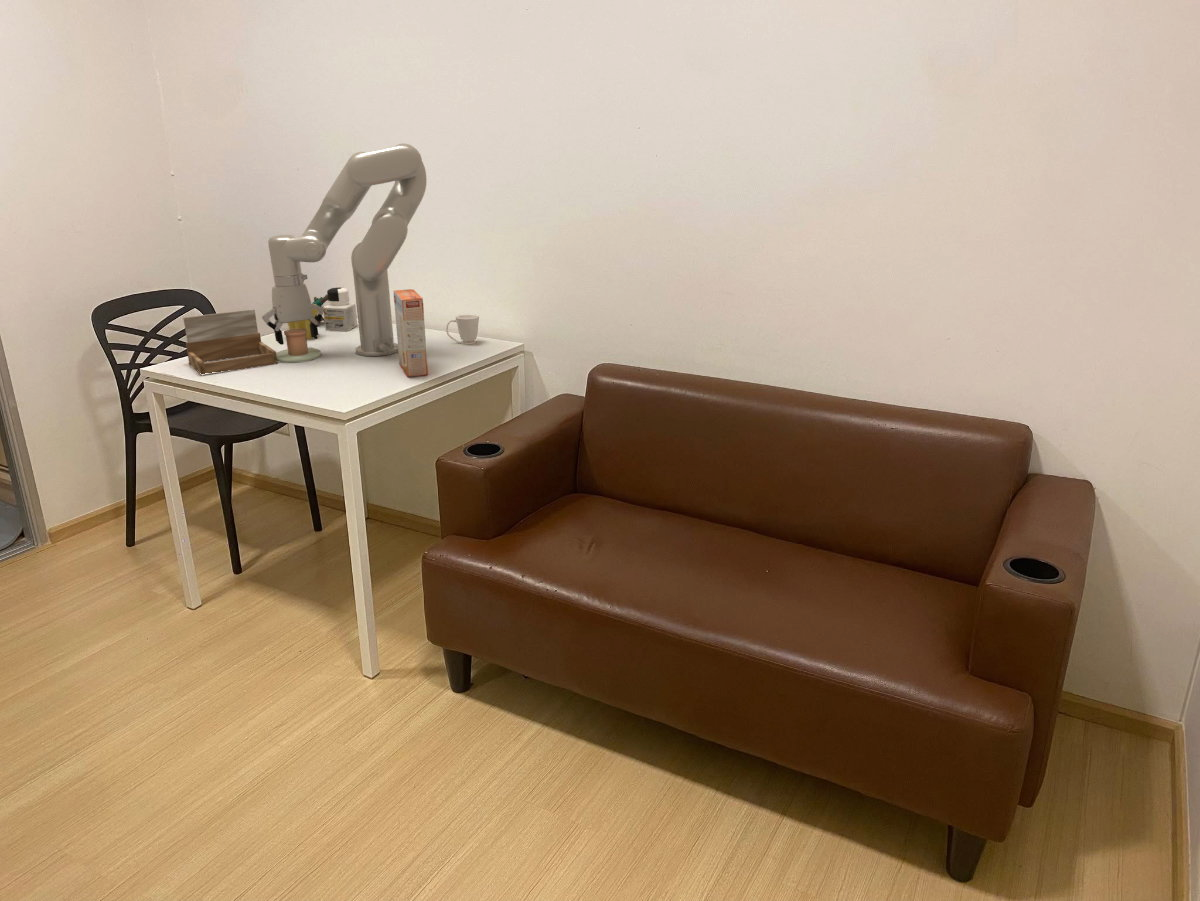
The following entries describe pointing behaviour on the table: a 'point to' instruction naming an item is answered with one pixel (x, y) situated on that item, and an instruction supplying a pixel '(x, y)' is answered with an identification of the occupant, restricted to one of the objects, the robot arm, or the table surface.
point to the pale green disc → (311, 355)
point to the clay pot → (296, 341)
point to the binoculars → (320, 304)
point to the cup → (466, 328)
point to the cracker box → (411, 332)
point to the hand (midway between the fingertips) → (297, 340)
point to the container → (339, 311)
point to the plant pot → (303, 324)
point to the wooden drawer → (226, 342)
